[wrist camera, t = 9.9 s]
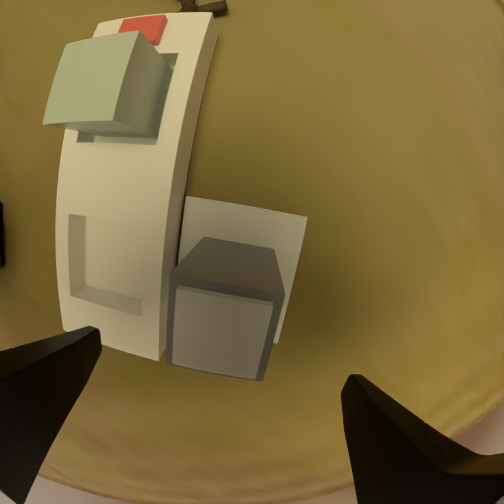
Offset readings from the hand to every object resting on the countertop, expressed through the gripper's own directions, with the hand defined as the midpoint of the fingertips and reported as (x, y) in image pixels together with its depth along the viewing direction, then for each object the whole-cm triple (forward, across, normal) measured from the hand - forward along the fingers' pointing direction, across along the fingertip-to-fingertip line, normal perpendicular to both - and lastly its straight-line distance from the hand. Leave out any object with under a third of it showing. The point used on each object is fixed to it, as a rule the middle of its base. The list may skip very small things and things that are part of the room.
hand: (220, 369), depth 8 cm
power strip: (+10, +8, -5) cm, 14 cm away
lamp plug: (+9, +8, -10) cm, 16 cm away
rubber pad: (+10, 0, 0) cm, 10 cm away
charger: (+9, 0, 0) cm, 9 cm away
